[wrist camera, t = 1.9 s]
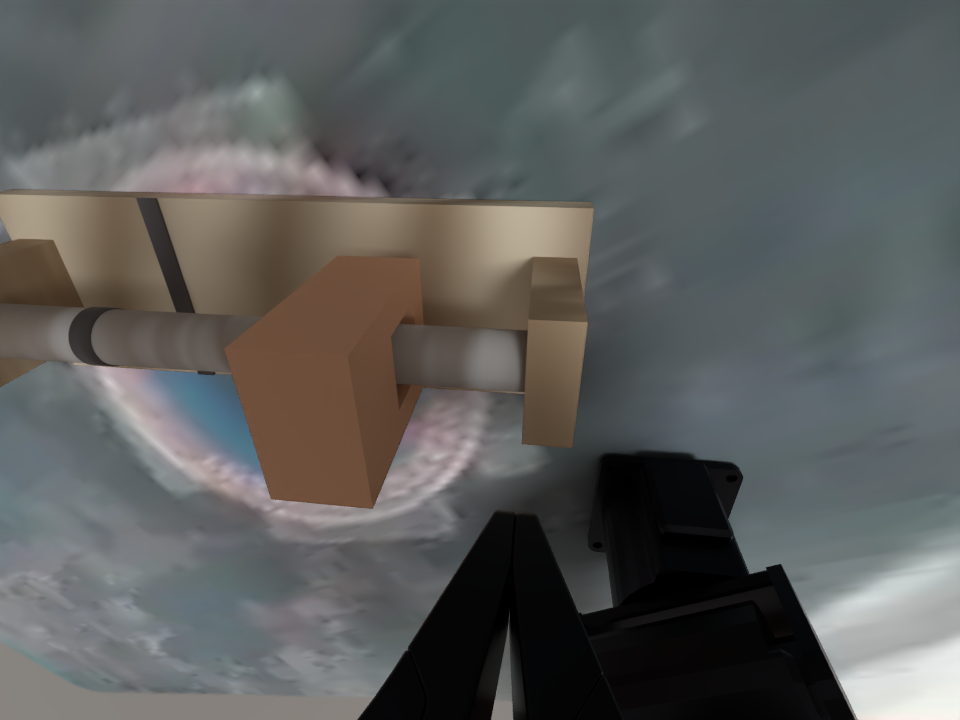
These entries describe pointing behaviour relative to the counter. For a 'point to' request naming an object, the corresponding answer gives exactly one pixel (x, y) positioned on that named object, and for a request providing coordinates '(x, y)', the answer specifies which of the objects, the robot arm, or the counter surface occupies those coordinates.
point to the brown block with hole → (330, 381)
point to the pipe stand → (299, 284)
